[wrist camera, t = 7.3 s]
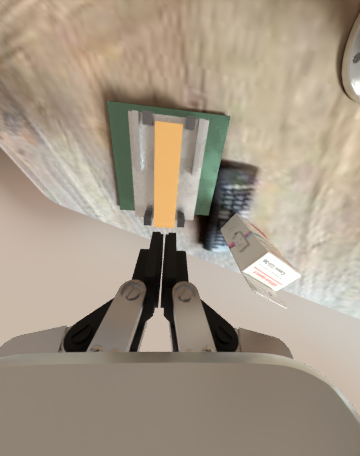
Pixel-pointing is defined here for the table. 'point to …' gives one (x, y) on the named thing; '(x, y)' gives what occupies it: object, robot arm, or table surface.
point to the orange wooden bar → (166, 172)
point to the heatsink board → (126, 151)
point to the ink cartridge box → (258, 259)
